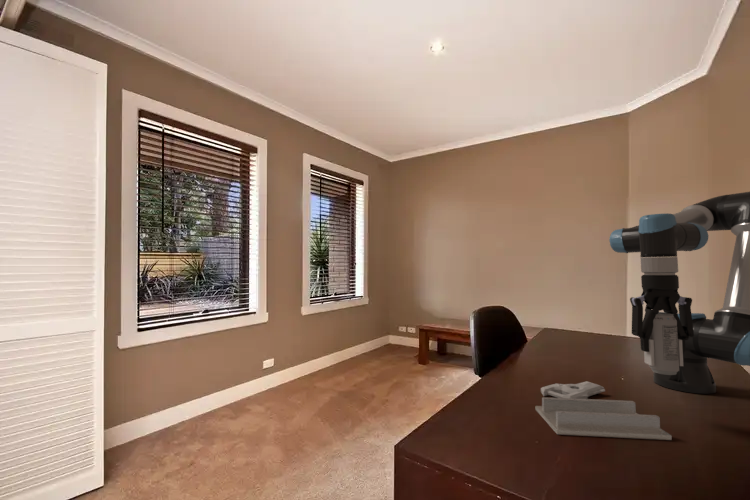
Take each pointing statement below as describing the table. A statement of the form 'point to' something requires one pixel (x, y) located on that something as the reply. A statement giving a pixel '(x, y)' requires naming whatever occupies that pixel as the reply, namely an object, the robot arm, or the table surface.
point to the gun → (572, 390)
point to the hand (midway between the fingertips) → (663, 364)
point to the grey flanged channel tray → (599, 418)
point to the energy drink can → (665, 344)
